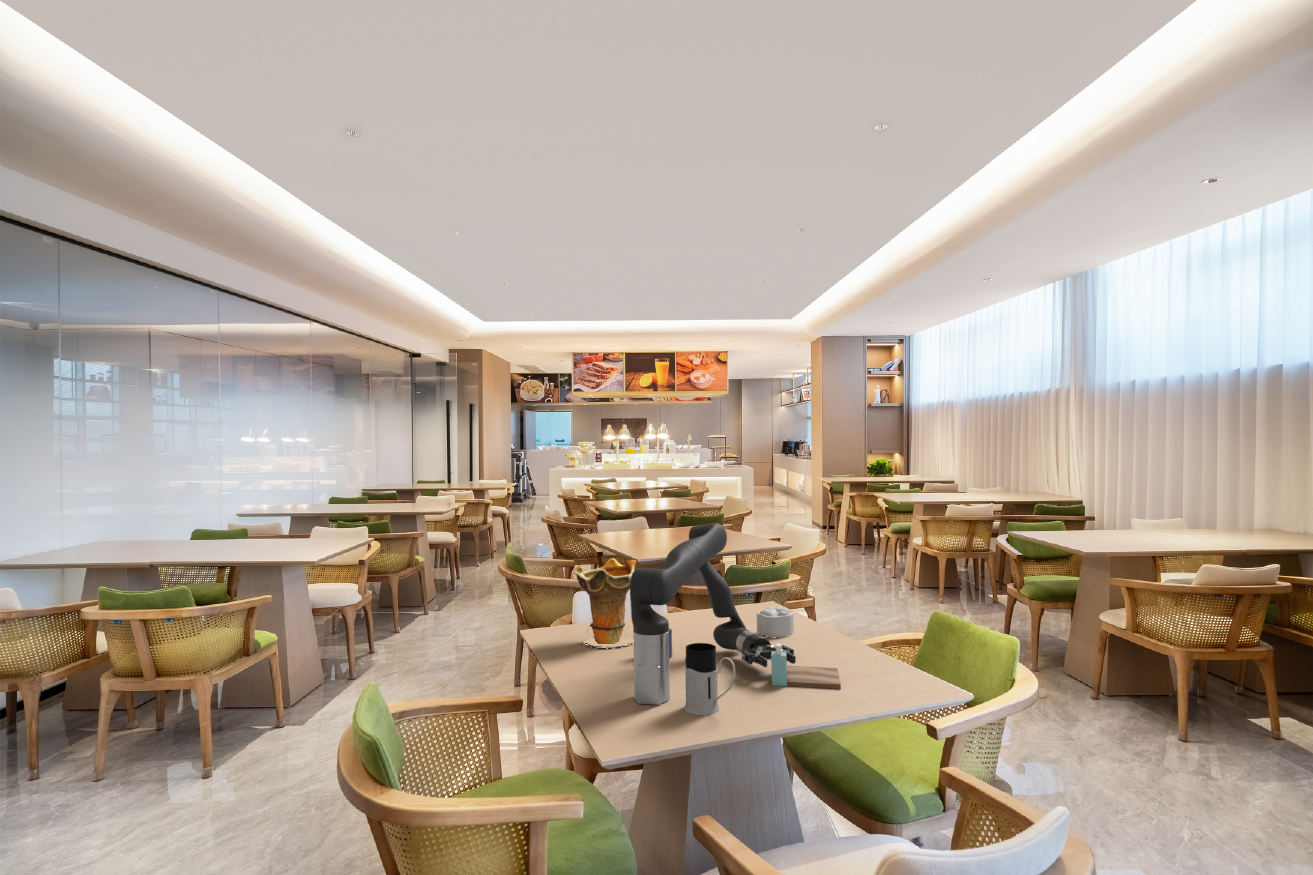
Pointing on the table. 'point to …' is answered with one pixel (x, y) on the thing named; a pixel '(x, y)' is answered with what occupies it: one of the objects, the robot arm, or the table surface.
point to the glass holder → (702, 679)
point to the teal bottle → (779, 666)
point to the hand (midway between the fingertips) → (780, 661)
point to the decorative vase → (607, 598)
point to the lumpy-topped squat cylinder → (775, 622)
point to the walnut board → (813, 677)
